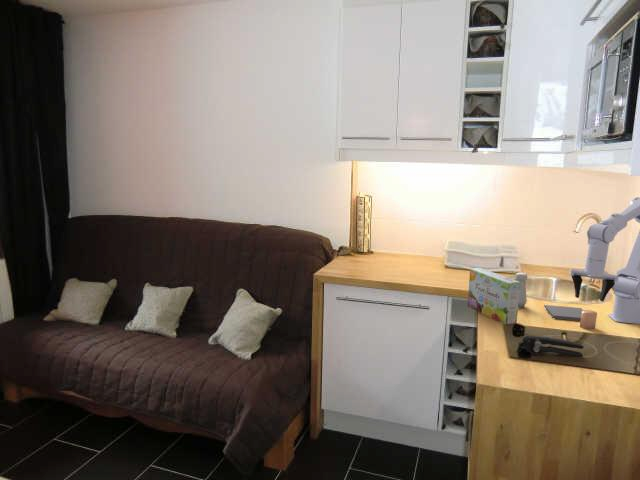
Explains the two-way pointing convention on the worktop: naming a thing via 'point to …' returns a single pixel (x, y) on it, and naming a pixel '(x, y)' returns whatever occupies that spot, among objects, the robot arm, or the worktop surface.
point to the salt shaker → (522, 288)
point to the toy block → (588, 319)
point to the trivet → (564, 312)
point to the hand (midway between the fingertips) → (589, 299)
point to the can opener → (535, 346)
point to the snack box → (494, 295)
